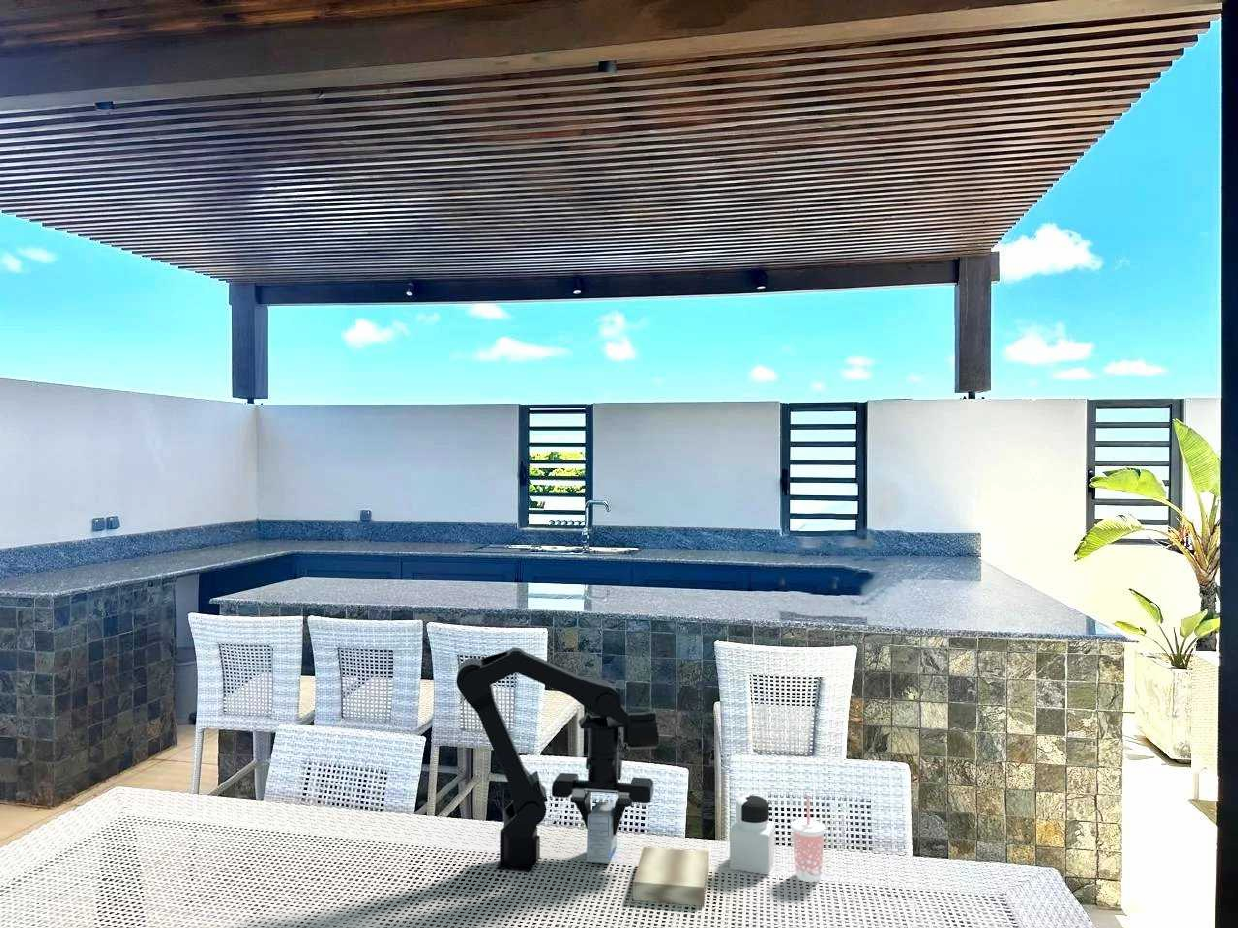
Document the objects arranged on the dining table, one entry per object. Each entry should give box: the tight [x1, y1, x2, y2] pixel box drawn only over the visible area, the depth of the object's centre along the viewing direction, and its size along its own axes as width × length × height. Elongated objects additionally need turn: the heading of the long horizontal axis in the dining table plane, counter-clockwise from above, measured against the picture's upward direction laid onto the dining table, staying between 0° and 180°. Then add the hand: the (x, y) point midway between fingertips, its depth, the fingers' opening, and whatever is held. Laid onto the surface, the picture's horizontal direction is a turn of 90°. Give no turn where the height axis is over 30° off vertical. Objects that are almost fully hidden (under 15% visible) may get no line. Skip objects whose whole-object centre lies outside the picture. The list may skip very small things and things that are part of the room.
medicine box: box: [586, 801, 618, 865], centre depth 151 cm, size 8×4×9 cm, turn 171°
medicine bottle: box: [729, 794, 775, 875], centre depth 149 cm, size 7×7×12 cm
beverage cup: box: [790, 796, 827, 883], centre depth 144 cm, size 6×6×14 cm
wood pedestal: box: [632, 846, 709, 907], centre depth 141 cm, size 12×14×3 cm
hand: (602, 833), depth 151 cm, fingers closed on medicine box, 4 cm apart
